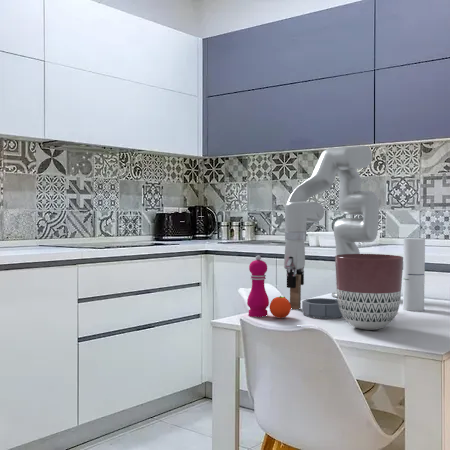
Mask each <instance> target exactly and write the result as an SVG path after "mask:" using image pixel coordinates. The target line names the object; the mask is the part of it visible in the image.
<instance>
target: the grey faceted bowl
mask: <svg viewBox="0 0 450 450" xmlns="http://www.w3.org/2000/svg"><path fill="white" fill-rule="evenodd" d="M301 307H302V308H301V313H303V316H305V315H306V316H305V317H308V316H309V317H308V318H313V317H315V318H314V319H337V318H339V319H340V318H341V317H343V316H342V314H341V312H340V309H339V306H338V301H337V298H336V299H335V298H327V297H326V298H323V297H316V298H305V299H303V300H301Z"/></svg>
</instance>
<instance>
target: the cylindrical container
mask: <svg viewBox="0 0 450 450" xmlns="http://www.w3.org/2000/svg"><path fill="white" fill-rule="evenodd" d="M425 263H426V238H423V237H422V238H420V237H418V238H417V237H404V238H403V272H402V283H403V284H402V310H404V311H407V312H408V311H409V312H423V311H425V284H426V283H425V282H426V281H425V276H426V275H425V274H426V273H425V272H426V271H425V269H426V267H425V266H426V264H425Z"/></svg>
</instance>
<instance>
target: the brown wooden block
mask: <svg viewBox="0 0 450 450" xmlns="http://www.w3.org/2000/svg"><path fill="white" fill-rule="evenodd" d="M295 276H296V288H289V302H290V304H291V308H292V309H291V310H294V309H299V308H301V307H302V294H301V293H302V285H301V275H296V274H295ZM301 309H302V308H301ZM299 310H300V309H299Z"/></svg>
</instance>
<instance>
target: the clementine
mask: <svg viewBox="0 0 450 450" xmlns="http://www.w3.org/2000/svg"><path fill="white" fill-rule="evenodd" d="M291 310H292V309H291V304H290V300H289V299H287V297H286V296H281V295H280V296H277V297H275V298H273V299H272V300H271V302H269V312H270V313H271V315H272V316H273V317H275V318H277V319H284V318H286V317H287V316H289V314H290V312H291Z"/></svg>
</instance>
